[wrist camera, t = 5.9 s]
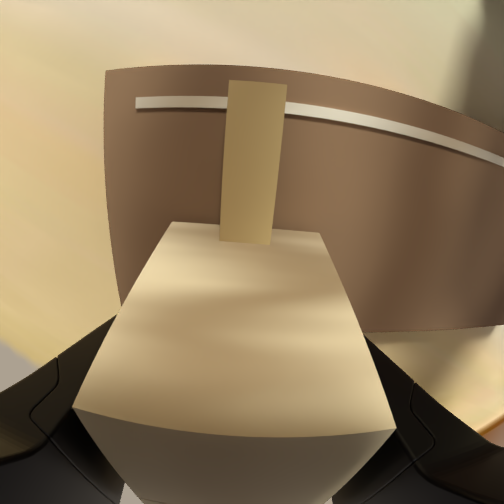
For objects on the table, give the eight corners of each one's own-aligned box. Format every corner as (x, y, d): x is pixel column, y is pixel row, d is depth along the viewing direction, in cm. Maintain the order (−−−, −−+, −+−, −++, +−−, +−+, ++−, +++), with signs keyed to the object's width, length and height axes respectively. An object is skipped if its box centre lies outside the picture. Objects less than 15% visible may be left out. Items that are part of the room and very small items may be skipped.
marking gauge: (320, 97, 9) (529, 107, 1) (286, 323, 13) (306, 518, 5) (192, 86, 8) (-9, 60, 1) (189, 317, 12) (147, 507, 5)
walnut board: (554, 167, 9) (587, 183, 7) (512, 295, 13) (535, 321, 11) (137, 75, 9) (104, 70, 6) (143, 278, 12) (122, 317, 10)
